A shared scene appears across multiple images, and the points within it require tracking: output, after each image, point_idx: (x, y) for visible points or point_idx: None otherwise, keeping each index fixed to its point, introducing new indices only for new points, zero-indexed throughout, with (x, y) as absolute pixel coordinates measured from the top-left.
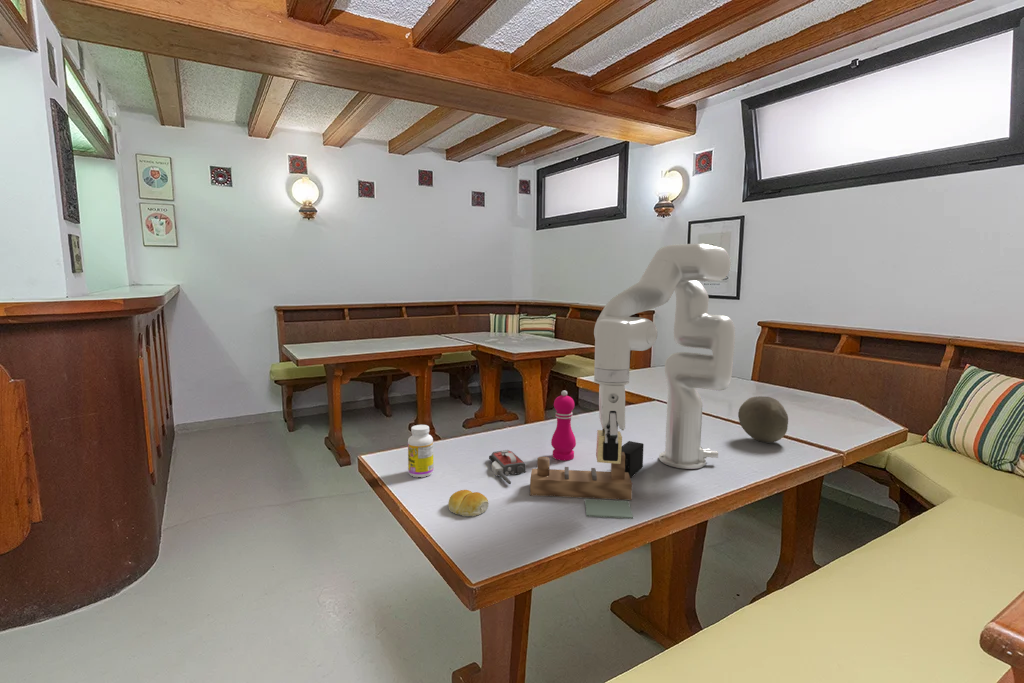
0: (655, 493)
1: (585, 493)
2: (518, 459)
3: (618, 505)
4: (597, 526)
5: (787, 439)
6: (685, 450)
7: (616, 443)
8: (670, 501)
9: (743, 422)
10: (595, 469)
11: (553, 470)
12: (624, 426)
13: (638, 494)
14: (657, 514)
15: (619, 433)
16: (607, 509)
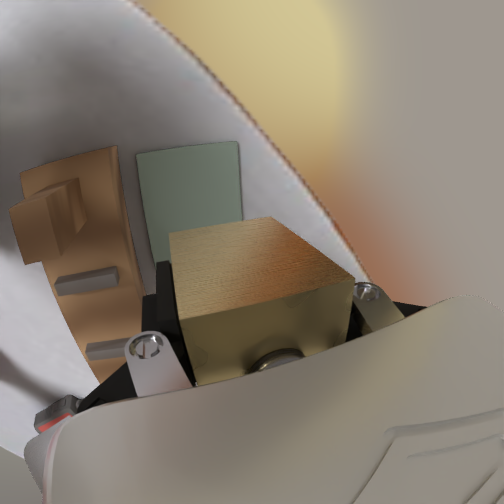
0: (60, 84)
1: (139, 275)
2: (62, 419)
3: (173, 180)
4: (285, 224)
5: None
6: None
7: (370, 289)
8: (108, 42)
9: None
10: (64, 283)
11: (99, 372)
12: (495, 307)
13: (74, 129)
14: (198, 76)
15: (255, 313)
16: (205, 208)
